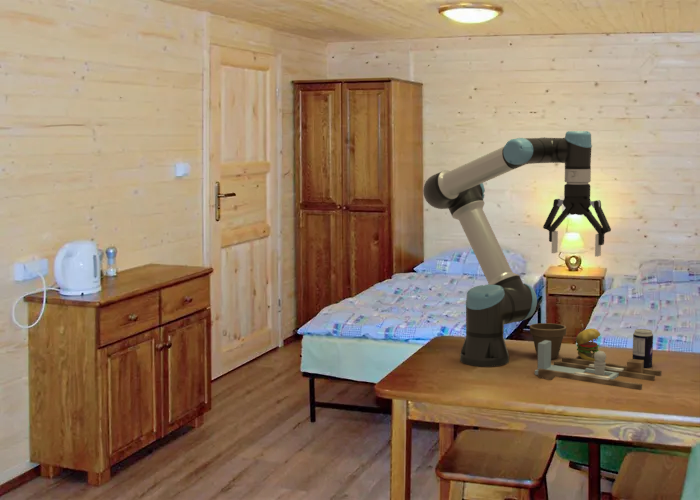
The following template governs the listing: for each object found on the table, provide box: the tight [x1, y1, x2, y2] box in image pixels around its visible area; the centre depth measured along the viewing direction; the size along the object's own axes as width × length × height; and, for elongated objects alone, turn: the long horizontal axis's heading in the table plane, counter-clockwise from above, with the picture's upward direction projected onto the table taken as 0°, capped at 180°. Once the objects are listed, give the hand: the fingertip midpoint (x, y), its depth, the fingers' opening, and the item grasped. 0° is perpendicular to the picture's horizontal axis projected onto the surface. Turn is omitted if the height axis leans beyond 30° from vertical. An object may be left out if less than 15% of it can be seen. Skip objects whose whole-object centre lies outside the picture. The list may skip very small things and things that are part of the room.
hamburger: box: [575, 324, 601, 361], centre depth 281 cm, size 8×7×12 cm
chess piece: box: [594, 350, 607, 376], centre depth 259 cm, size 5×5×9 cm
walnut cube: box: [626, 358, 644, 373], centre depth 262 cm, size 4×4×4 cm
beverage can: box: [631, 328, 654, 369], centre depth 271 cm, size 6×6×12 cm
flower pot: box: [529, 322, 567, 360], centre depth 288 cm, size 12×11×10 cm
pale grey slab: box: [534, 340, 620, 380], centre depth 263 cm, size 22×9×9 cm, turn 54°
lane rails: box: [537, 356, 662, 391], centre depth 263 cm, size 30×18×3 cm, turn 54°
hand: (575, 254), depth 271 cm, fingers open, 13 cm apart
